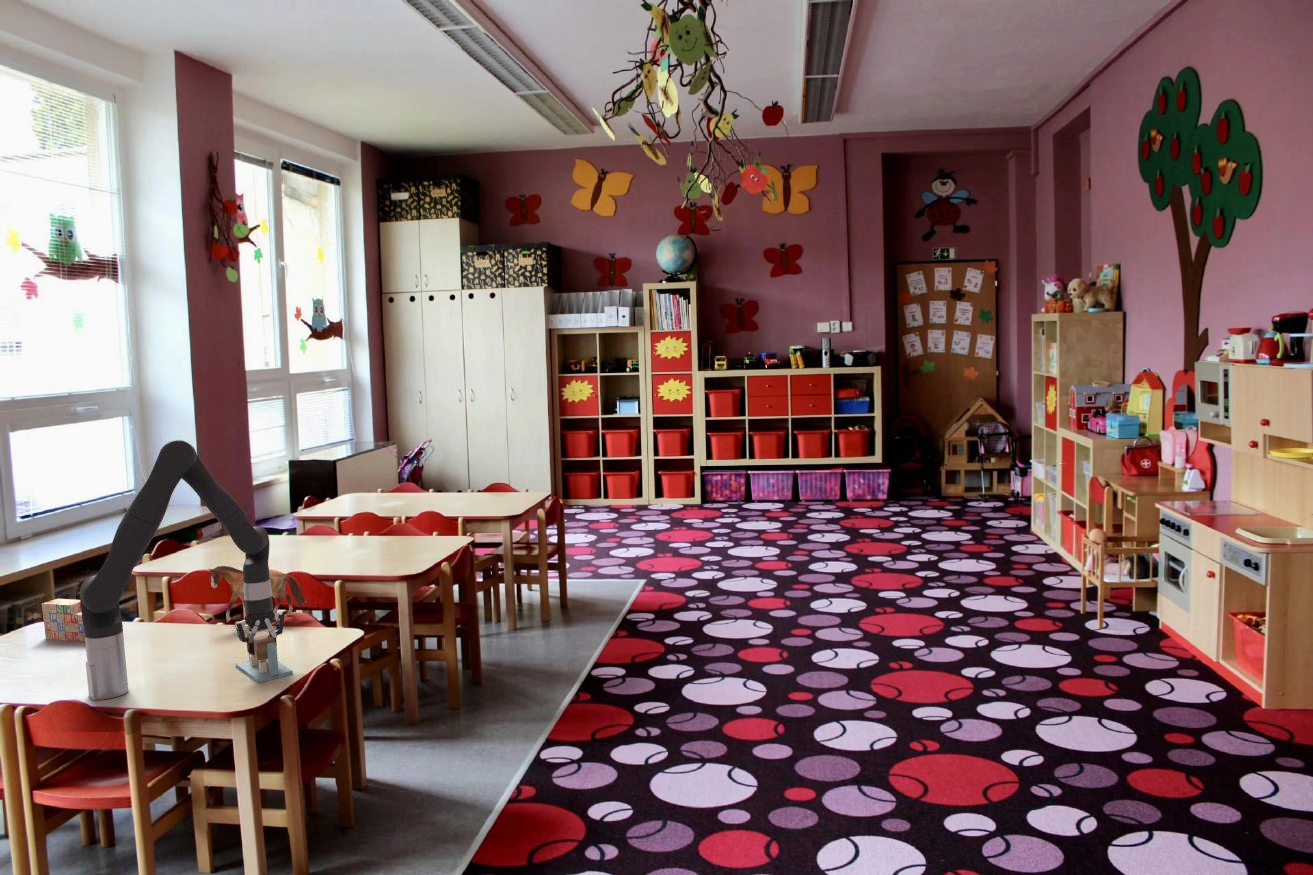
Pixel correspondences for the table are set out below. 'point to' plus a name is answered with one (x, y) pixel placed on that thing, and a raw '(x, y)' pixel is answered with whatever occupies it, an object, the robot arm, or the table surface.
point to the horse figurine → (276, 580)
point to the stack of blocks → (63, 620)
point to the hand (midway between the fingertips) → (262, 651)
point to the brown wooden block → (261, 645)
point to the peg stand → (264, 666)
